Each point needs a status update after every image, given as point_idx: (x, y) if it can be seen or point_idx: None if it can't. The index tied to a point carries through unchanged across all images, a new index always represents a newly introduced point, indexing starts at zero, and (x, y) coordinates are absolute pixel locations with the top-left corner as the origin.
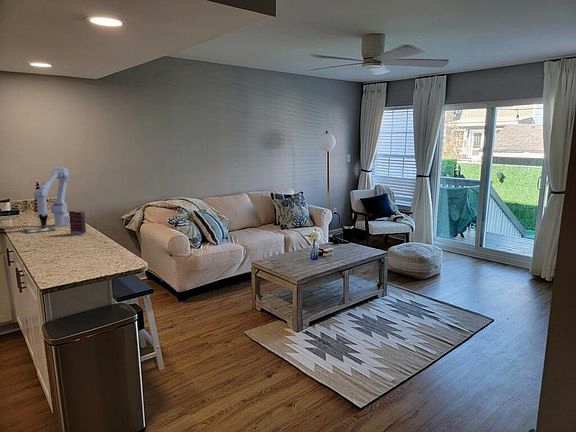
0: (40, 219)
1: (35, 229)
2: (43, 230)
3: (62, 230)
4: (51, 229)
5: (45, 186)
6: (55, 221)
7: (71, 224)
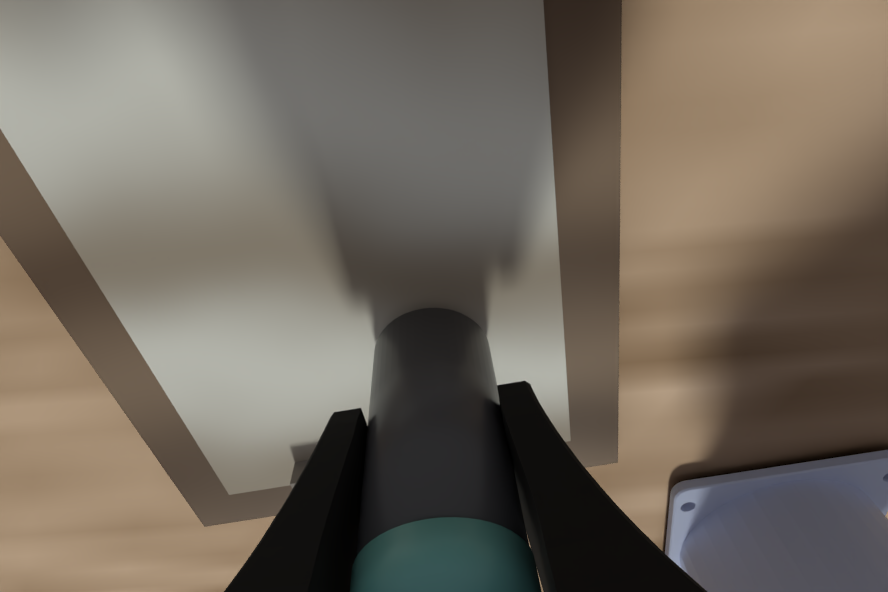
0: (540, 529)
1: (379, 157)
2: (161, 356)
3: (219, 578)
4: (260, 474)
5: None
6: (798, 577)
7: None
